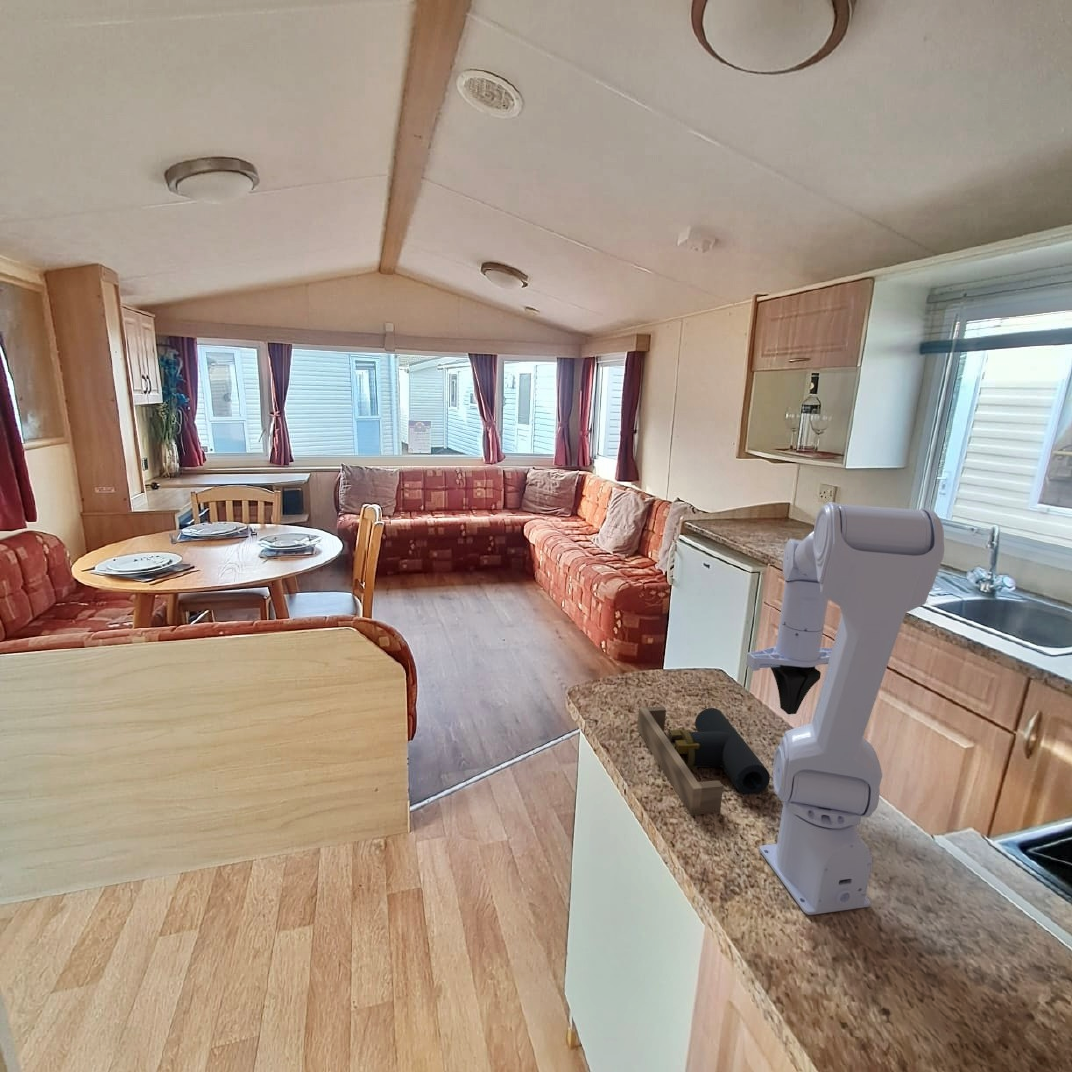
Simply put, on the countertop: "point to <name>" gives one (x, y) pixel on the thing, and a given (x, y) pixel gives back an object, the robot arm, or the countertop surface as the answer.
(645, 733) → the stop rail
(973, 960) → the countertop surface
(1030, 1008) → the countertop surface
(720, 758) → the pipe connector
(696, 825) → the countertop surface
